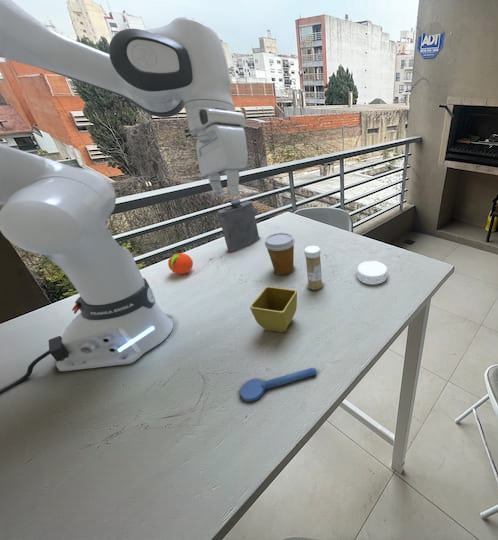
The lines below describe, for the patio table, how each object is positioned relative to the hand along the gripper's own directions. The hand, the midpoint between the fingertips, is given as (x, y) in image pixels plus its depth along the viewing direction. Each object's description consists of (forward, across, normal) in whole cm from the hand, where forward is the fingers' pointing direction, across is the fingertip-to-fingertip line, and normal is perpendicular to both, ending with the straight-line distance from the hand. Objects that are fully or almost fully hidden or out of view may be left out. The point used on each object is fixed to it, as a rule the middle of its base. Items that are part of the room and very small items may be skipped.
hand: (226, 196), depth 59 cm
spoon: (+39, +13, -1) cm, 41 cm away
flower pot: (+34, -2, +8) cm, 35 cm away
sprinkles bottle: (+29, -10, +25) cm, 40 cm away
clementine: (+23, -44, -4) cm, 50 cm away
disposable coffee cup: (+25, -24, +22) cm, 41 cm away
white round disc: (+28, -2, +42) cm, 51 cm away
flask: (+18, -50, +19) cm, 57 cm away
